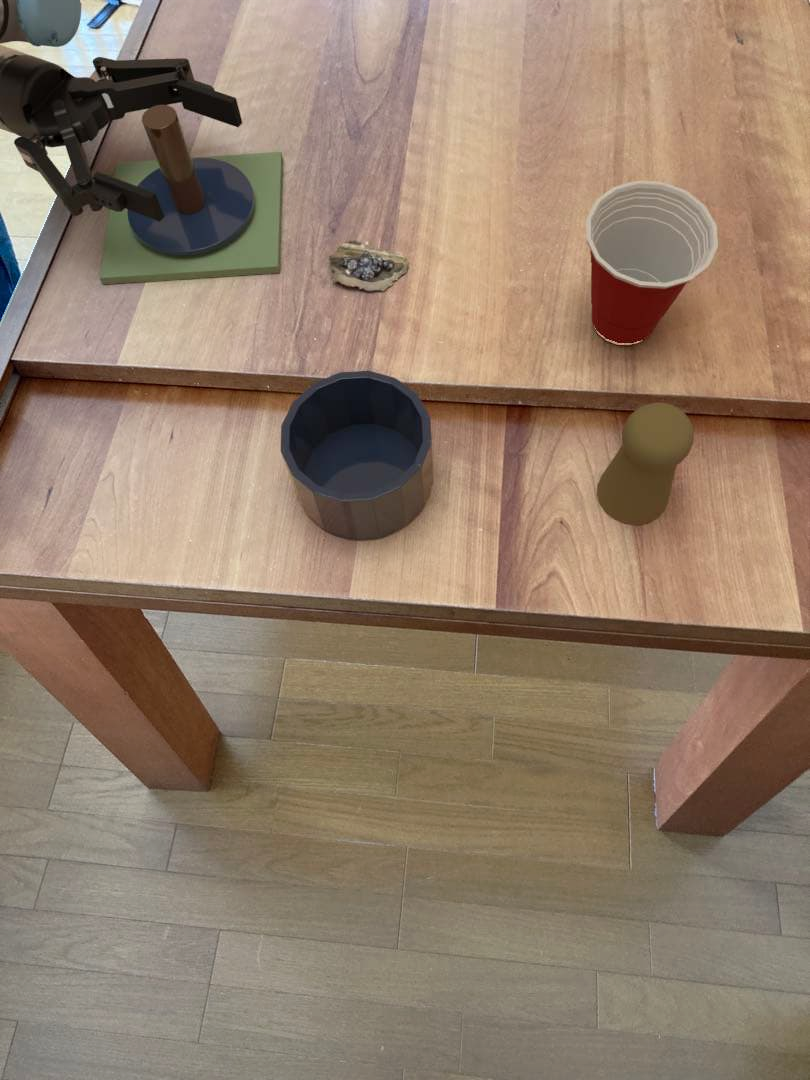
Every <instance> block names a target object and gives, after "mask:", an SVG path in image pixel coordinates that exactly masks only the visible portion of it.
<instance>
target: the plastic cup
mask: <svg viewBox="0 0 810 1080" xmlns="http://www.w3.org/2000/svg"><path fill="white" fill-rule="evenodd" d="M713 218H714V217H713V216H712V214H711V213H710V211H709V209H708V207H707V206H706V204H704V203H702V201H700V200H699V199H698V198H697V197H695V196H694V195H693V194H691V193H690V192H689V191H688V190H685V189H683V188H680V187H678V186H675V185H672V184H670V183H667V182H664V181H655V180H634V181H631V182H626V183H623V184H619V185H616V186H613V187H611V188H610V189H609V190H608V191H606V192H605V193H603V194H602V195H601V196H599V197H598V198H597V199H596V200H595V201H594V204H593V205H592V206H591V209H590V211H589V212H588V214H587V216H586V229H585V230H586V235H585V236H586V244H587V246H588V248H589V254H590V264H591V270H590V271H591V272H590V273H591V275H590V304H591V322H592V325H593V324H594V326H595V328H596V330H597V331H598V332H599V333H600V334H601V335H603V336H604V337H605V338H606V339H609V340H612V341H615V342H617V343H634V342H637V341H641V340H643V341H644V340H646V339H647V338H648V337H650V335H651V334H652V333H654V330H656V328H657V326H658V324H659V322H661V319H663V318H664V317H665V315H666V314H667V312H669V309H670V308H671V307H672V305H673V304H674V302H675V300H676V299H677V298H678V297H679V295H680V293H681V292H682V290H683V289H684V287H685V285H687V284H689V282H691V281H692V280H693V279H695V278H696V277H697V276H699V274H701V273H702V272H703V271H704V270H706V269H707V268H708V267H709V266H710V264H711V262H712V260H713V258H714V256H715V254H716V252H717V250H718V248H719V240H718V239H719V238H718V225H717V224H716V221H715V220H714V219H713ZM596 330H595V331H596ZM647 336H648V337H647ZM646 337H647V338H646ZM645 338H646V339H645Z"/></svg>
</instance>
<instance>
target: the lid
mask: <svg viewBox="0 0 810 1080" xmlns="http://www.w3.org/2000/svg"><path fill="white" fill-rule="evenodd" d="M141 122H142V125H143V128H144V130H145V133H146V135H147V138H148V141H149V143H150V146H151V148H152V151H153V154H154V157H155V160H157V162H158V164H159V167H160V168H158V169H156V170H155V171H153V172H152V173H150V174H149V175H148V176H147V177H145V178H144V179H143V180H142V181H141V182H140V183H139V184H138V187H140V188H143V189H146V190H148V191H151V192H153V193H155V194H156V197H157V199H158V202H159V204H160V207H161V209H162V212H163V214H164V217H163V219H162V220H161V221H160V222H159V221H156V220H154V219H151V218H149V217H146V216H144V215H141V214H138V213H136V212H133V211H131V210H128V212H127V214H128V221H129V224H130V226H131V229H132V231H133V232H134V234H135V236H136V237H137V238H138V239H139V240H140V241H141V242H142V243H143V244H144V245H146V246H147V247H149V248H151V249H153V250H155V251H158V252H161V253H164V254H169V255H177V256H188V255H196V254H201V253H205V252H208V251H211V250H214V249H216V248H219V247H221V246H223V245H224V244H226V243H228V242H229V241H231V240H232V239H234V238H235V237H236V236H237V235H238V234H239V233H240V232H241V231H242V230H243V229H244V228H245V226H246V225H247V223H248V222H249V220H250V218H251V216H252V213H253V210H254V203H255V201H254V193H253V189H252V186H251V184H250V181H249V180H248V178H247V177H246V176H245V175H244V174H243V172H242V171H240V170H239V169H238V168H236V167H235V166H233V165H231V164H229V163H227V162H224V161H221V160H218V159H212V158H197V157H192V155H191V152H190V149H189V146H188V143H187V140H186V137H185V135H184V131H183V129H182V126H181V125H182V124H181V123H180V118H179V116H178V113H177V111H176V109H174V107H172V106H171V105H156V106H153V107H151V108H149V109H145V111H144V112H143V114H142V115H141Z"/></svg>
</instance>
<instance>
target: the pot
mask: <svg viewBox="0 0 810 1080" xmlns="http://www.w3.org/2000/svg"><path fill="white" fill-rule="evenodd" d="M280 454H281V456H282V459H283V461H284V465H285V467H286V470H287V472H288V475H289V478H290V480H291V484H292V486H293V489H294V492H295V495H296V497H297V498H298V501H299V503H300V505H301V508H302V509H303V512H304V514H305V515H306V516H307V517H308V518H309V519H310V520H311V521H312V522H313V523H314V524H315V525H316V526H317V527H319V528H320V529H321V530H323V531H325V532H327V533H329V534H331V535H333V536H335V537H338V538H342V539H346V540H351V541H371V540H378V539H381V538H385V537H388V536H390V535H394V534H395V533H397V532H399V531H401V530H403V529H404V528H405V527H407V526H409V525H410V523H412V522H413V521H414V520H415V519H416V518H417V517H418V516H419V514H420V513H421V512H422V510H423V509H424V508H425V506H426V504H427V503H428V500H429V498H430V495H431V493H432V492H431V491H432V488H433V485H434V472H433V471H434V467H433V440H432V423H431V416H430V414H429V412H428V410H427V408H426V407H425V405H424V403H423V402H422V399H421V398H420V396H419V395H418V393H417V392H416V391H414V390H412V388H410V387H409V386H407V385H406V384H405V383H403V382H402V381H401V380H400V379H398V378H396V377H393V376H390V375H386V374H382V373H379V372H376V371H371V370H356V371H342V372H337V373H335V374H332V375H330V376H328V377H325V378H323V379H320V380H318V381H315V382H314V383H312V384H311V385H310V386H309V387H307V389H306V390H304V391H303V392H302V393H301V394H300V395H299V396H298V397H296V398H295V399H294V400H293V402H292V403H291V405H290V407H289V409H288V411H287V413H286V415H285V418H284V419H283V421H282V422H281V426H280Z"/></svg>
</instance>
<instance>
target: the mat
mask: <svg viewBox="0 0 810 1080" xmlns="http://www.w3.org/2000/svg"><path fill="white" fill-rule="evenodd" d="M196 158H212V159H218V160H221V161H224V162H227V163H229V164H231V165H233V166H235V167H236V168H238V169H239V170H240V171H242V172H243V174H244V175H245V176H246V177H247V178H248V180H249V181H250V184H251V186H252V189H253V193H254V201H255V203H254V210H253V213H252V216H251V218H250V220H249V222H248V223H247V225H246V226H245V228H244V229H243V230H242V231H241V232H240V233H239V234H238V235H237V236H236V237H235V238H234V239H232V240H231V241H229V242H228V243H226V244H224V245H223V246H221V247H219V248H216V249H214V250H211V251H208V252H205V253H201V254H196V255H188V256H177V255H169V254H164V253H161V252H158V251H155V250H153V249H151V248H149V247H147V246H146V245H144V244H143V243H142V242H141V241H140V240H139V239H138V238H137V237H136V236H135V234H134V232H133V231H132V229H131V226H130V224H129V221H128V214H127V212H128V209H124V210H123V211H122V212H116V211H114V210H111V209H108V214H107V216H108V217H107V221H106V228H105V235H104V242H103V249H102V256H101V261H100V262H101V263H100V269H99V276H98V278H99V280H100V282H101V284H102V285H115V284H118V285H119V284H129V283H130V284H131V283H133V284H134V283H145V282H146V283H147V282H160V281H161V282H162V281H163V282H164V281H178V280H192V279H194V280H195V279H207V278H209V279H210V278H221V277H222V278H223V277H239V276H240V277H241V276H253V275H267V274H268V275H269V274H279V273H281V247H282V245H281V244H282V242H281V241H282V211H283V210H282V207H283V206H282V203H283V174H284V171H283V170H284V168H283V167H284V157H283V153H282V151H273V152H270V151H269V152H257V153H245V154H244V153H241V154H229V155H228V154H227V155H214V156H199V157H197V156H196ZM158 168H160V167H159V164H158V162H157V159H155V160H142V161H141V160H140V161H126V162H116V163H115V166H114V173H113V177H114V178H116V179H119V180H122V181H124V182H127V183H130V184H132V185H135V186H138V184H139V183H140V182H141V181H142V180H143V179H144V178H145V177H147V176H148V175H149V174H150V173H152V172H153V171H155V170H156V169H158Z"/></svg>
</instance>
